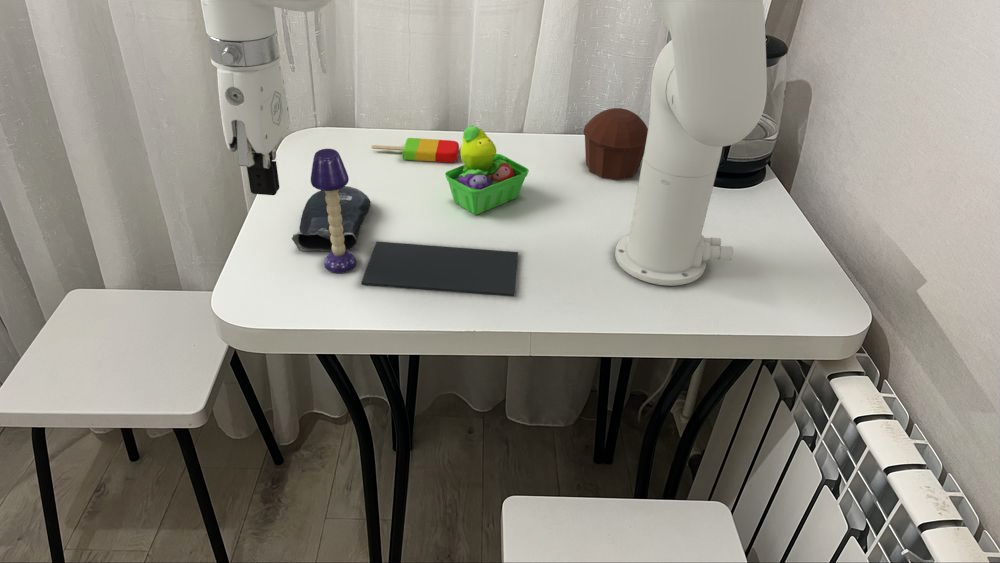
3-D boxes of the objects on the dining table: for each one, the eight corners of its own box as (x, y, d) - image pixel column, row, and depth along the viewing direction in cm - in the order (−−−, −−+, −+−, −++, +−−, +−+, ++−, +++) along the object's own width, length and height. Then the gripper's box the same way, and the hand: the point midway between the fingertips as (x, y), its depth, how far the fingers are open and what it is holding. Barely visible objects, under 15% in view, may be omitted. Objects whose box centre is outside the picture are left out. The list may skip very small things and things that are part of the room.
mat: (517, 254, 105) (517, 251, 104) (514, 296, 97) (514, 294, 96) (376, 243, 105) (376, 241, 105) (361, 284, 97) (361, 282, 97)
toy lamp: (348, 278, 98) (338, 163, 88) (314, 272, 99) (301, 158, 89) (360, 258, 102) (352, 146, 92) (328, 253, 103) (317, 141, 93)
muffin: (583, 149, 134) (590, 96, 128) (645, 157, 132) (655, 104, 126) (575, 179, 124) (582, 123, 118) (642, 188, 122) (652, 132, 117)
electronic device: (365, 260, 104) (374, 195, 115) (356, 230, 100) (367, 165, 111) (299, 265, 104) (315, 200, 115) (288, 235, 100) (305, 170, 111)
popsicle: (457, 163, 126) (457, 153, 125) (368, 158, 126) (368, 148, 125) (459, 149, 131) (459, 140, 130) (374, 144, 131) (373, 134, 130)
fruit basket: (474, 222, 111) (476, 153, 105) (437, 198, 116) (437, 131, 110) (529, 199, 118) (534, 133, 111) (491, 178, 123) (495, 113, 116)
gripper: (255, 73, 78) (276, 224, 88) (296, 29, 90) (310, 167, 100) (184, 68, 78) (214, 219, 88) (234, 25, 90) (255, 163, 101)
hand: (265, 191), depth 94 cm, fingers closed
